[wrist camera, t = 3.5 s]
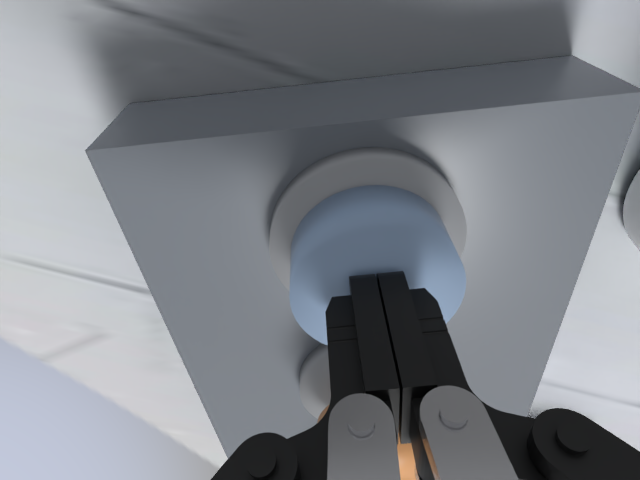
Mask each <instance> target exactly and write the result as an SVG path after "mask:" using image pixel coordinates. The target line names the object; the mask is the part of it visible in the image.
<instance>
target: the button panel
mask: <svg viewBox="0 0 640 480" xmlns="http://www.w3.org/2000/svg"><path fill="white" fill-rule="evenodd" d="M639 109H640V88H638V87H636V86H634V85H632V84H630V83H627V82H625V81H623V80H621V79H619V78H617V77H615V76H613V75H611V74H609V73H607V72H605V71H603V70H601V69H599V68H597V67H595V66H593V65H591V64H589V63H587V62H585V61H583V60H581V59H579V58H577V57H575V56H573V55H572V56H563V57H554V58H544V59H535V60H526V61H517V62H507V63H498V64H489V65H480V66H471V67H461V68H452V69H443V70H434V71H425V72H415V73H406V74H397V75H388V76H378V77H369V78H360V79H351V80H342V81H332V82H323V83H314V84H305V85H296V86H286V87H277V88H268V89H259V90H250V91H240V92H231V93H222V94H213V95H203V96H194V97H185V98H176V99H167V100H157V101H148V102H139V103H130V104H129V105H128V106H127V107H126V108H125V109H124V110H123V111H122V112H121V113H120V114H119V115H118V116H117V117H116V119H115V120H114V121H113V122H112V123H111V124H110V125H109V126H108V127H107V128H106V129H105V130H104V131H103V132H102V133H101V134H100V136H99V137H98V138H97V139H96V140H95V141H94V142H93V143H92V144H91V145H90V146H89V147H88V148H87V149H86V150H85V151H86V154H87V156H88V158H89V160H90V162H91V164H92V166H93V169H94V171H95V173H96V175H97V177H98V179H99V182H100V184H101V186H102V188H103V190H104V192H105V194H106V197H107V199H108V201H109V203H110V205H111V207H112V210H113V212H114V214H115V216H116V218H117V220H118V223H119V225H120V227H121V229H122V231H123V233H124V235H125V238H126V240H127V242H128V244H129V246H130V248H131V251H132V253H133V255H134V257H135V259H136V261H137V263H138V266H139V268H140V270H141V272H142V274H143V276H144V279H145V281H146V283H147V285H148V287H149V289H150V291H151V294H152V296H153V298H154V300H155V302H156V304H157V307H158V309H159V311H160V313H161V315H162V317H163V320H164V322H165V324H166V326H167V328H168V330H169V332H170V335H171V337H172V339H173V341H174V343H175V345H176V348H177V350H178V352H179V354H180V356H181V358H182V360H183V363H184V365H185V367H186V369H187V371H188V373H189V376H190V378H191V380H192V382H193V384H194V386H195V389H196V391H197V393H198V395H199V397H200V399H201V401H202V404H203V406H204V408H205V410H206V412H207V414H208V417H209V419H210V421H211V423H212V425H213V427H214V429H215V432H216V434H217V436H218V438H219V440H220V442H221V445H222V447H223V449H224V451H225V453H226V455H227V457H228V459H229V457H230V456H231V455H232V454H233V453H234V451H235V450H236V449H237V448H238V447H239V446H240V445H241V444H242V443H243V442H244V441H245V440H247V439H248V438H250V437H252V436H254V435H256V434H259V433H265V432H271V433H276V434H279V435H281V436H283V437H285V438H286V439H288V438H290V437H292V436H294V435H297V434H299V433H301V432H303V431H306V430H308V429H310V428H311V427H313V426H314V425H316V424H317V420H318V418H319V415H320V414H321V412H322V411H323V410H324V409H325V408H326V407H327V406H328V405H329V404H330V400H331V389H330V374H329V359H328V346H327V345H325V344H322V343H321V342H319V341H317V340H315V339H314V338H312V337H311V336H310V335H309V334H307V333H306V332H305V331H304V330H303V329H302V328H301V327H300V325H299V324H298V322H297V321H296V319H295V317H294V315H293V313H292V310H291V306H290V299H289V292H290V259H291V244H292V240H293V236H294V234H295V231H296V229H297V227H298V225H299V224H300V222H301V221H302V219H303V218H304V217H305V216H306V214H307V213H308V212H309V211H310V210H311V209H313V208H314V207H315V206H316V205H317V204H319V203H320V202H321V201H323V200H324V199H326V198H328V197H330V196H332V195H334V194H336V193H339V192H341V191H343V190H347V189H350V188H354V187H360V186H366V185H385V186H392V187H398V188H401V189H404V190H407V191H410V192H412V193H414V194H416V195H418V196H420V197H421V198H423V199H424V200H426V201H427V202H428V203H429V204H430V205H431V206H433V207H434V209H435V210H436V211H437V213H438V214H439V216H440V217H441V219H442V221H443V223H444V225H445V227H446V230H447V232H448V234H449V236H450V238H451V240H452V242H453V244H454V246H455V249H456V251H457V253H458V255H459V257H460V259H461V261H462V263H463V266H464V269H465V273H466V290H465V294H464V298H463V300H462V303H461V305H460V307H459V308H458V310H457V312H456V313H455V314H454V316H453V317H452V318H451V319H450V320H449V321H448V322H447V323H446V326H447V328H448V333H449V334H450V337H451V339H452V342H453V345H454V348H455V350H456V353H457V356H458V359H459V361H460V364H461V367H462V370H463V372H464V375H465V378H466V381H467V383H468V385H469V387H470V389H471V390H472V392H473V393H474V394H475V395H476V396H477V397H478V398H479V399H480V400H481V401H483V402H484V403H485V404H487V405H489V406H490V407H492V408H494V409H497V410H499V411H503V412H506V413H511V414H516V415H520V416H525V417H527V416H528V413H529V411H530V408H531V405H532V402H533V400H534V397H535V394H536V391H537V389H538V386H539V383H540V380H541V378H542V375H543V372H544V369H545V367H546V364H547V361H548V358H549V356H550V353H551V350H552V347H553V345H554V342H555V339H556V336H557V334H558V331H559V328H560V326H561V323H562V320H563V317H564V315H565V312H566V309H567V306H568V304H569V301H570V298H571V295H572V293H573V290H574V287H575V284H576V282H577V279H578V276H579V273H580V271H581V268H582V265H583V262H584V260H585V257H586V254H587V251H588V249H589V246H590V243H591V240H592V238H593V235H594V232H595V229H596V227H597V224H598V221H599V218H600V216H601V213H602V210H603V207H604V205H605V202H606V199H607V196H608V194H609V191H610V188H611V185H612V183H613V180H614V177H615V175H616V172H617V169H618V166H619V164H620V161H621V158H622V155H623V153H624V150H625V147H626V144H627V142H628V139H629V136H630V133H631V131H632V128H633V125H634V122H635V120H636V117H637V114H638V111H639Z"/></svg>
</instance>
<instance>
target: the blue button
mask: <svg viewBox="0 0 640 480" xmlns="http://www.w3.org/2000/svg"><path fill="white" fill-rule="evenodd" d="M396 271H403V272H404V274H405V277H406V280H407V283H408V287H409V289H418V288H425V289H426V290H427V291H428V292H429V293H430V294H431V295H432V296H433V297H434V298H435V299H436V300H437V301H438V304H439V306H440V309H441V312H442V315H443V319H444V320H445V323H447V322H448V321H449V320H450V319H451V318H452V317H453V316H454V314H455V313H456V312H457V310H458V308H459V307H460V305H461V303H462V300H463V298H464V294H465V290H466V273H465V269H464V266H463V263H462V261H461V259H460V257H459V255H458V253H457V251H456V249H455V246H454V244H453V242H452V240H451V238H450V236H449V234H448V232H447V230H446V227H445V225H444V223H443V221H442V219H441V217H440V216H439V214H438V213H437V211H436V210H435V209H434V207H433V206H431V205H430V204H429V203H428V202H427V201H426V200H424V199H423V198H421V197H420V196H418V195H416V194H414V193H412V192H410V191H407V190H404V189H401V188H398V187H392V186H385V185H366V186H360V187H354V188H350V189H347V190H343V191H341V192H339V193H336V194H334V195H332V196H330V197H328V198H326V199H324V200H323V201H321V202H320V203H319V204H317V205H316V206H315V207H314V208H313V209H311V210H310V211H309V212H308V213H307V214H306V216H305V217H304V218H303V219H302V221H301V222H300V224H299V225H298V227H297V229H296V231H295V234H294V236H293V240H292V244H291V259H290V292H289V299H290V306H291V310H292V313H293V315H294V317H295V319H296V321H297V322H298V324H299V325H300V327H301V328H302V329H303V330H304V331H305V332H306V333H307V334H309V335H310V336H311V337H312V338H314V339H315V340H317V341H319V342H321V343H322V344H325V345H327V346H328V343H327V328H326V314H325V311H326V309H327V307H328V305H329V302H330V300H331V298H332V297H335V296H346V295H350V287H349V276H356V275H366V274H375V275H376V274H377V273H386V272H396Z"/></svg>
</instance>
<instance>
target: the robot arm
mask: <svg viewBox="0 0 640 480" xmlns="http://www.w3.org/2000/svg"><path fill="white" fill-rule="evenodd" d="M349 287H350V295H346V296H335V297H332V298H331V300H330V302H329V305H328V307H327V309H326V311H325V314H326V328H327V343H328V359H329V374H330V389H331V400H330V405H329V407H328V410H327V412H326V414H325V415H324V416H323V418H322V419H321V420H320V421H319V422H318V423H317V424H316V425H314V426H313V427H311V428H310V429H308V430H306V431H303V432H301V433H299V434H297V435H294V436H292V437H290V438H288V439H286V438H285V437H283V436H281V435H279V434H276V433H271V432H265V433H259V434H256V435H254V436H252V437H250V438H248V439H247V440H245V441H244V442H243V443H242V444H241V445H240V446H239V447H238V448H237V449H236V450H235V451H234V453H233V454H232V455H231V456H230V457H229V459H228V460H227V461H226V462H225V463H224V464H223V466H222V467H221V468H220V469H219V470H218V472H217V473H216V474H215V475H214V477H213V478H212V479H211V480H401V478H400V469H399V460H398V451H397V445H398V432H399V437H400V443H401V444H407V443H411V445H412V449H413V454H414V459H415V479H416V480H640V452H639V451H638V450H636V449H635V448H633V447H632V446H630V445H629V444H627V443H626V442H624V441H622V440H621V439H619V438H618V437H616V436H615V435H613V434H612V433H610V432H609V431H607V430H606V429H604V428H602V427H601V426H599V425H598V424H596V423H595V422H593V421H592V420H590V419H589V418H587V417H585V416H583V415H582V414H579V413H577V412H575V411H571V410H568V409H562V408H555V409H549V410H546V411H544V412H542V413H540V414H539V415H538V416H537V417H536V419H534V418H529V417H525V416H520V415H516V414H511V413H506V412H503V411H499V410H497V409H494V408H492V407H490V406H489V405H487V404H485V403H484V402H483V401H481V400H480V399H479V398H478V397H477V396H476V395H475V394H474V393H473V392H472V390H471V389H470V387H469V385H468V383H467V381H466V378H465V375H464V372H463V370H462V367H461V364H460V361H459V359H458V356H457V353H456V350H455V348H454V345H453V342H452V339H451V337H450V334H449V333H448V328H447V326H446V323H445V320H444V319H443V315H442V312H441V309H440V306H439V304H438V301H437V300H436V299H435V298H434V297H433V296H432V295H431V294H430V293H429V292H428V291H427V290H426V289H425V288H418V289H409V287H408V283H407V280H406V277H405V274H404V272H403V271H396V272H386V273H377V274H376V275H375V274H366V275H356V276H349Z"/></svg>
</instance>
